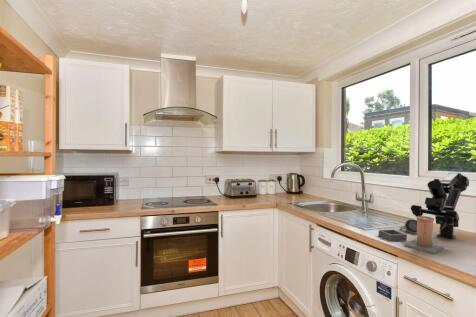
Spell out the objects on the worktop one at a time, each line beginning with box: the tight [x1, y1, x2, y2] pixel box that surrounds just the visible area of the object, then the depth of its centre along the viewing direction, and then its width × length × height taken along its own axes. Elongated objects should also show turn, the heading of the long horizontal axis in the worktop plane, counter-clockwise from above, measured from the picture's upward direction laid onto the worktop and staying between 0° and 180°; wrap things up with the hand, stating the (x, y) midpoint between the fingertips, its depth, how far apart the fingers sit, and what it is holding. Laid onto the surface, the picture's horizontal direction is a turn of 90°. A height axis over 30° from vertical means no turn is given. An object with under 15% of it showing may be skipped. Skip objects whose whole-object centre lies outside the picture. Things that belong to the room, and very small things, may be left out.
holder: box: [378, 229, 408, 242], centre depth 136 cm, size 9×9×3 cm
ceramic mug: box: [399, 217, 417, 234], centre depth 150 cm, size 11×8×8 cm
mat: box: [403, 239, 445, 255], centre depth 123 cm, size 12×12×1 cm
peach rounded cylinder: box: [416, 215, 435, 247], centre depth 123 cm, size 8×7×13 cm
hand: (428, 227), depth 126 cm, fingers open, 9 cm apart
